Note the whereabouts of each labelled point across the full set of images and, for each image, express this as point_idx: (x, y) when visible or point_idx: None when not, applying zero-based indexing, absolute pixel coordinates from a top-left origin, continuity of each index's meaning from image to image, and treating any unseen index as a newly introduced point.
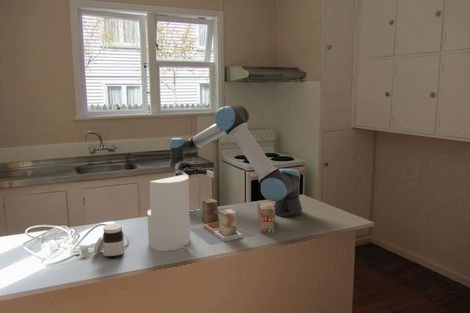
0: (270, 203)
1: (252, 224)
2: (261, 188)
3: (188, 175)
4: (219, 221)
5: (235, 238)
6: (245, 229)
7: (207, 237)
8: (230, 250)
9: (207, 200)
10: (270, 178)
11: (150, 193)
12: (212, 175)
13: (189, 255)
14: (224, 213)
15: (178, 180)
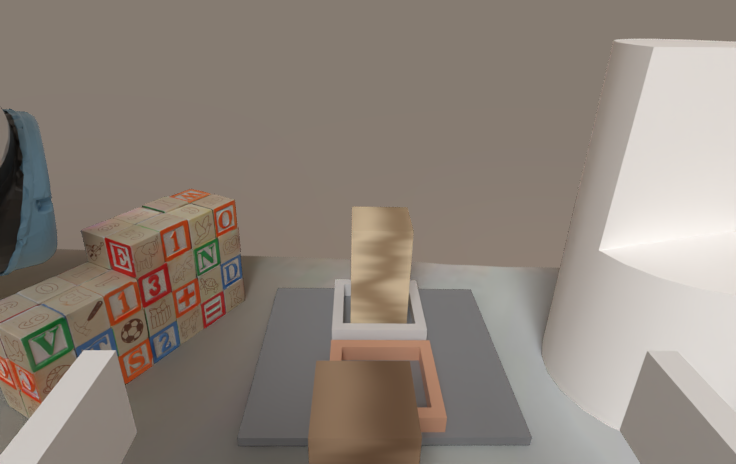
0: (135, 214)
1: (167, 384)
2: (37, 209)
3: (652, 354)
4: (409, 274)
5: None
6: (267, 332)
7: (463, 332)
8: (416, 263)
9: (380, 409)
10: (20, 113)
11: None
12: (124, 397)
13: (550, 279)
14: (404, 212)
15: (664, 40)
